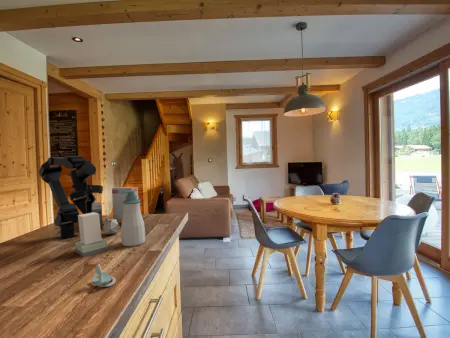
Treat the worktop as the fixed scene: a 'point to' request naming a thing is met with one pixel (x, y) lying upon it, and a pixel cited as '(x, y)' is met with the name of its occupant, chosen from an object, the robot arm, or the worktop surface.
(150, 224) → the worktop surface
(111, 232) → the game die
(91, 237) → the post
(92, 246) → the slab upper
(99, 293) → the worktop surface
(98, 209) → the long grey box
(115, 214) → the cracker box
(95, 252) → the slab lower
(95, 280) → the pacifier
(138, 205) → the soap bottle
